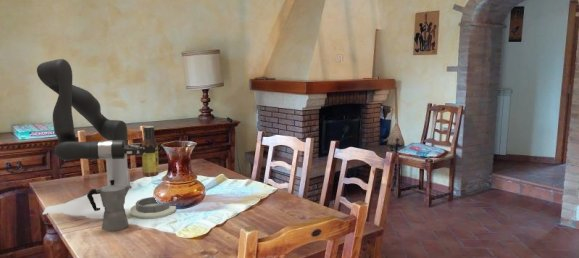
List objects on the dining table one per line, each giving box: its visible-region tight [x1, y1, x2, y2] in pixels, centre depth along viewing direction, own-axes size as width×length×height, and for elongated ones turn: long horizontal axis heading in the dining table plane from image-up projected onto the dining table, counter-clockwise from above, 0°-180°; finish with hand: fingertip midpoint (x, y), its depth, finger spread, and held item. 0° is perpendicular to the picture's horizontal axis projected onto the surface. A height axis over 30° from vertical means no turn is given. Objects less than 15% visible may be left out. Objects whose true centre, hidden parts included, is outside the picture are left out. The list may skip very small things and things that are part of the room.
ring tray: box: [129, 196, 177, 220], centre depth 186 cm, size 18×18×4 cm
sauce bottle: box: [141, 125, 160, 178], centre depth 182 cm, size 6×6×20 cm
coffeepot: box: [86, 180, 132, 232], centre depth 167 cm, size 15×9×18 cm, turn 122°
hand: (155, 148), depth 183 cm, fingers closed on sauce bottle, 6 cm apart
